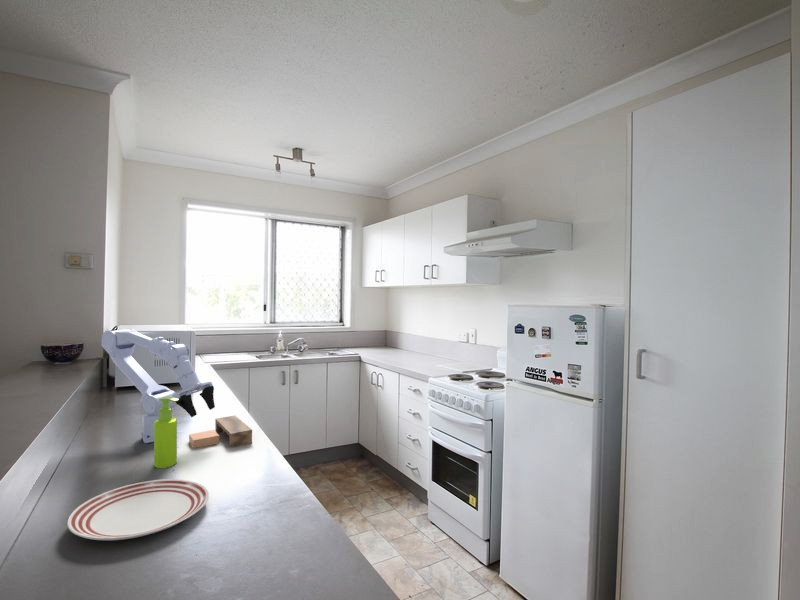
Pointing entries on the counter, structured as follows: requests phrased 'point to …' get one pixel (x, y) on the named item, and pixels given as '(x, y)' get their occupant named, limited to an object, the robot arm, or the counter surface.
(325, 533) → the counter surface
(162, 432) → the soap dispenser
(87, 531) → the dinner plate
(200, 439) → the peach rectangular block
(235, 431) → the wooden bridge block
